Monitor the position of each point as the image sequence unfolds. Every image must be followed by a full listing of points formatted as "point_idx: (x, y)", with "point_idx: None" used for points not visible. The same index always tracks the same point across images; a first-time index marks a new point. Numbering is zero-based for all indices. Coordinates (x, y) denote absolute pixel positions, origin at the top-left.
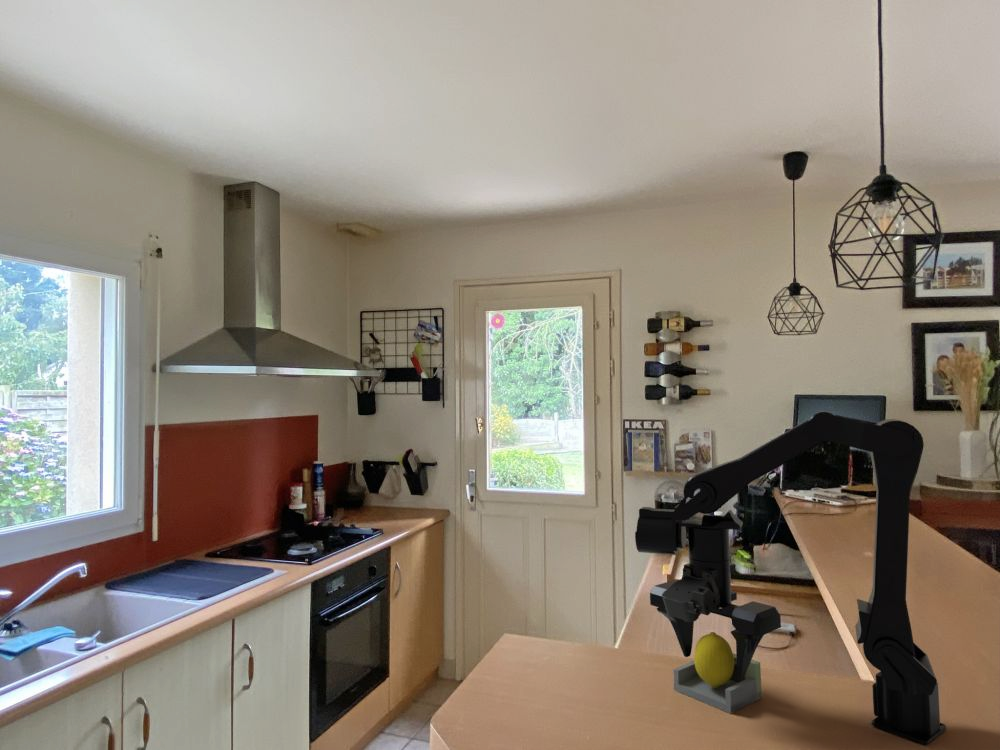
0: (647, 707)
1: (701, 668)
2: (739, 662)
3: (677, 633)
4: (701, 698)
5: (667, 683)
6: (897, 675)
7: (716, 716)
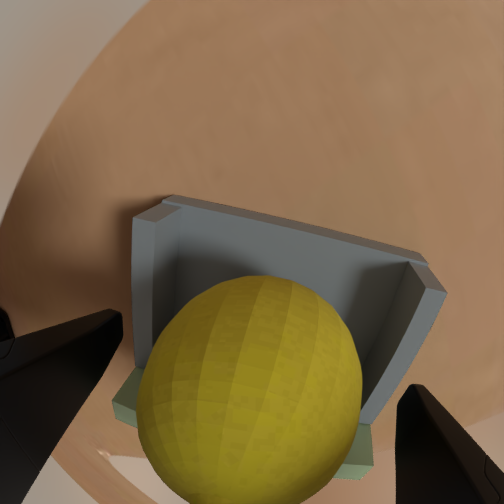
0: (436, 61)
1: (288, 292)
2: (62, 333)
3: (479, 461)
4: (296, 224)
5: (451, 289)
6: None
7: (201, 144)
